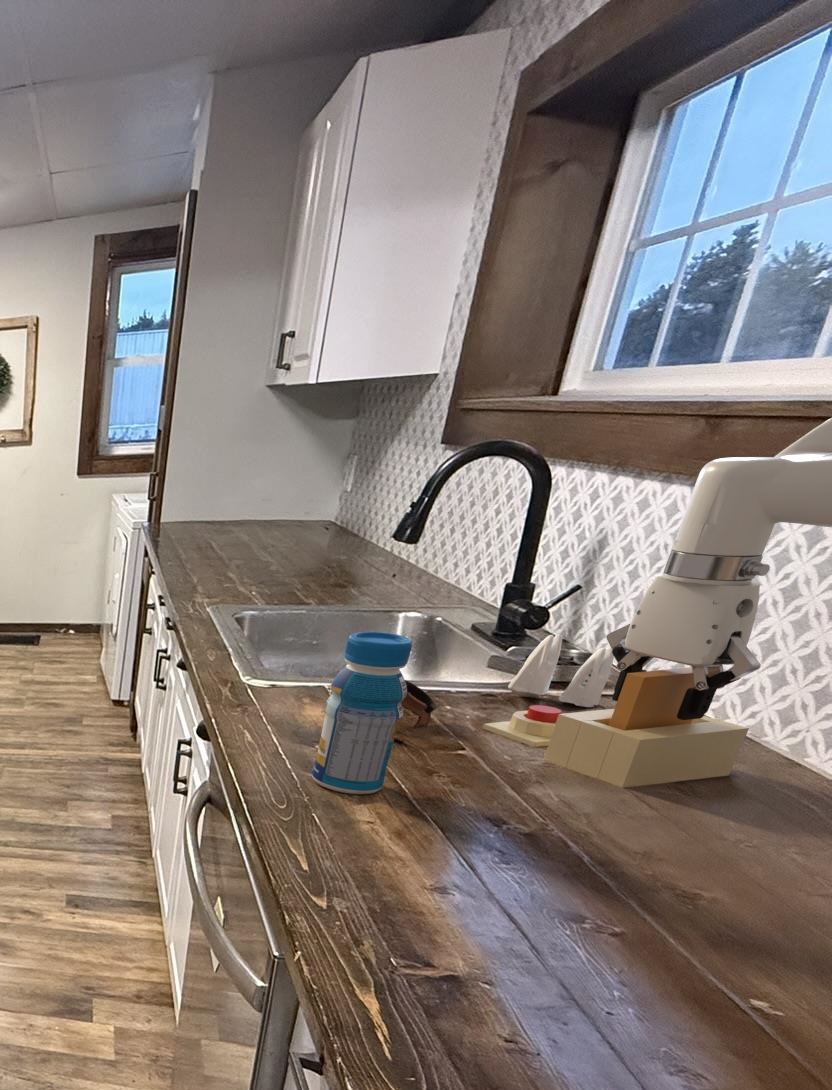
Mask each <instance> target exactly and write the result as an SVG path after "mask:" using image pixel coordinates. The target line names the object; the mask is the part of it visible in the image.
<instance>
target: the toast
mask: <svg viewBox="0 0 832 1090" xmlns="http://www.w3.org/2000/svg"><path fill="white" fill-rule="evenodd" d="M694 687H695V684H694V678H693V673H692V667H691V666H689V667H678V668H670V669H669V668H668V669H667V668H666V669H659V670H658V669H657V670H647V671H646V672H635V673H627V676H626V679H625V682H624V684H623V687H622V690H621V693H620V695H619V698H618V701H616V704H615V707H614V708H613V709H614V712H613V715H612V717H611V720H610V723H609V726H611V727H614V728H617V729H621V730H624V731H627V730H636V729H646V728H655V727H665V726H674V725H684V724H691V722H692V719H690V720H681V719H678V718H677V713H678V711H679V708H680V706H681V703H682V701H683V698H684V696H685V693H686V691H687V689H689V688H694Z"/></svg>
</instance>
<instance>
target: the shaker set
mask: <svg viewBox="0 0 832 1090" xmlns="http://www.w3.org/2000/svg"><path fill="white" fill-rule="evenodd" d="M562 645H563V635H561V634H559V633H557V634H555V636H554V634H549V635H548V636H546V637H545V638H544V639H542V641H541V642H540V643H539V644H537V646H536V647H535V648H534V650H532V652H531V653H530V654H529V656H528V657H527V658H526V659H525V662H524V664H523V666H522V667H521V669H520V670H518V672H517V674H516V675H515V676H514V678H513V679H512V680H511V681H510V682H509V683H508V684H507V685H508V686H507V689H509V690H510V692H511V693H512V694H514V695H516V696H519V697H524V698H539V697H540V696H541V695H543V694H546V693H548V691H549V690H550V685H551V683H552V680H553V676H554V672H555V670H556V667H557V665H558V662H559V658H560V655H561V649H562ZM612 650H613V649H612V648H611V647H610V646H609V647H607V648H606V647H600V648H599V649H597V650H596V651H595V652H594V653H592V654H591V655H590V656H589V657H588V658H587V659H586V661H585V662H584V663H583V664H582V665H580V667H579V668H578V669H577V671H576V673H575V674H574V676H573V678H572V679H571V682H570V683H569V684H568V686H567V687H565V689H564V690H563V692H561V694H560V695H559V696H558V697H557V699H556V700H557V701H559V702H562V703H569V704H574V705H575V706H578V707H585V708H592V707H593V708H594V706H599V704H600V702H601V701H600V700H601V698H602V695H603V692H604V689H605V686H606V683H607V682H608V680H609V678H610V675H611V671H612V668H613V663H614V659H615V657H614V655H613V654H612Z"/></svg>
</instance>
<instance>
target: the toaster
mask: <svg viewBox="0 0 832 1090" xmlns="http://www.w3.org/2000/svg"><path fill="white" fill-rule="evenodd" d="M614 709H615V708H607V709H606V708H605V709H596V710H587V711H586V710H585V711H577V712H575V711H574V712H567V713H561V714H559V716H558V719H557V722H556V725H555V727H554V730H553V733H552V736H551V739H550V742H549V745H548V746H547V748H546V750H545V751H546V752H545V755H544V758H543V760H544V761H547V762H549V763H552V764H554V765H557V766H560V767H563V768H565V769H568V770H570V771H573V772H576V773H579V774H581V775H584V776H586V777H589V778H592V779H598V780H600V781H603V782H606V783H609V784H611V785H614V786H617V787H619V788H632V787H633V788H634V787H640V786H648V785H649V786H650V785H658V784H666V783H667V784H668V783H675V782H684V781H692V780H700V779H710V778H718V777H727V776H730V775H731V771H732V769H733V767H734V765H735V762H736V759H737V757H738V755H739V753H740V751H741V749H742V746H743V743H744V742H745V739H746V736H747V735H748V732H749V730H750V728H749V727H746V726H742V725H738V724H736V723H731V722H728V721H724V720H721V719H718V718H717V719H716V718H714V717H709V716H707V715H704V716H703V717H702V718H700V719H692V722H691V724H684V725H674V726H665V727H655V728H646V729H636V730H627V731H624V730H621V729H617V728H614V727H611V726H609V723H610V720H611V717H612V715H613V712H614Z"/></svg>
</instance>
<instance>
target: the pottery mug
mask: <svg viewBox="0 0 832 1090" xmlns="http://www.w3.org/2000/svg"><path fill="white" fill-rule="evenodd" d="M405 682H406V686H407V696H406V697H405V699H403V700H402V702H401V705H402V707H403V709H406V710H408V711H410V712H411V713H412V714H414V715H415V716H417V717H418V718H417V721H416V722H415V724H414V725H413V726H412V728H415V727H425V726H428V725H429V723H430V722H431V717H432V712H434V711H435V710H437V708H438V706H437V704H436V703H435V701H434V700H433V698H432V697H431V696H429V694H427V692H426V691H424V690H423V689H421V688H420V687H419V686H417V685H416V684H414V683H413V682H411V681H408V680H407V679H405Z"/></svg>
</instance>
